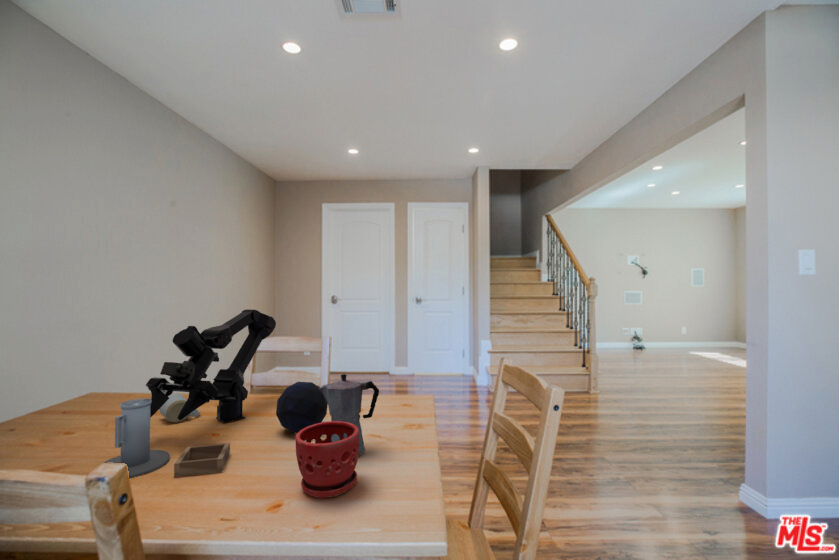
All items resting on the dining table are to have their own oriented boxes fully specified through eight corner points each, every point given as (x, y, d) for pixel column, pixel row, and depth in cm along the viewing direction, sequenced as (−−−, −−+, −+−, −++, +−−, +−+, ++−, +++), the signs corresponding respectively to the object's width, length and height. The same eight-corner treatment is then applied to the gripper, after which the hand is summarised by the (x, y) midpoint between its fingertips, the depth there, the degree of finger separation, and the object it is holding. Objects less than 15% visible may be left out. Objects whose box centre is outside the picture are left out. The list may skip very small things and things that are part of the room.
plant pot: (320, 468, 92) (321, 417, 92) (370, 479, 87) (370, 424, 87) (281, 496, 80) (281, 436, 80) (335, 510, 75) (336, 447, 75)
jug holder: (186, 459, 96) (187, 446, 96) (229, 454, 99) (229, 442, 99) (174, 477, 87) (174, 463, 87) (221, 472, 90) (221, 458, 90)
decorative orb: (261, 411, 117) (277, 375, 111) (305, 400, 128) (322, 367, 122) (280, 451, 109) (299, 415, 103) (325, 435, 121) (344, 402, 115)
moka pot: (321, 445, 105) (321, 370, 105) (378, 443, 106) (379, 369, 107) (314, 461, 95) (315, 378, 96) (378, 459, 97) (378, 377, 97)
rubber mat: (160, 448, 103) (160, 444, 103) (177, 464, 93) (177, 461, 93) (91, 465, 92) (91, 462, 92) (103, 486, 83) (103, 482, 83)
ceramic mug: (165, 426, 119) (166, 400, 119) (158, 419, 124) (159, 395, 125) (203, 418, 126) (204, 394, 127) (195, 412, 132) (196, 389, 132)
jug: (136, 455, 96) (137, 397, 97) (156, 457, 95) (157, 399, 95) (105, 469, 89) (106, 407, 89) (126, 471, 88) (128, 409, 88)
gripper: (152, 348, 108) (112, 399, 97) (211, 350, 104) (176, 404, 93) (175, 370, 116) (140, 420, 105) (230, 374, 112) (201, 426, 101)
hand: (163, 418), depth 101 cm, fingers open, 9 cm apart
